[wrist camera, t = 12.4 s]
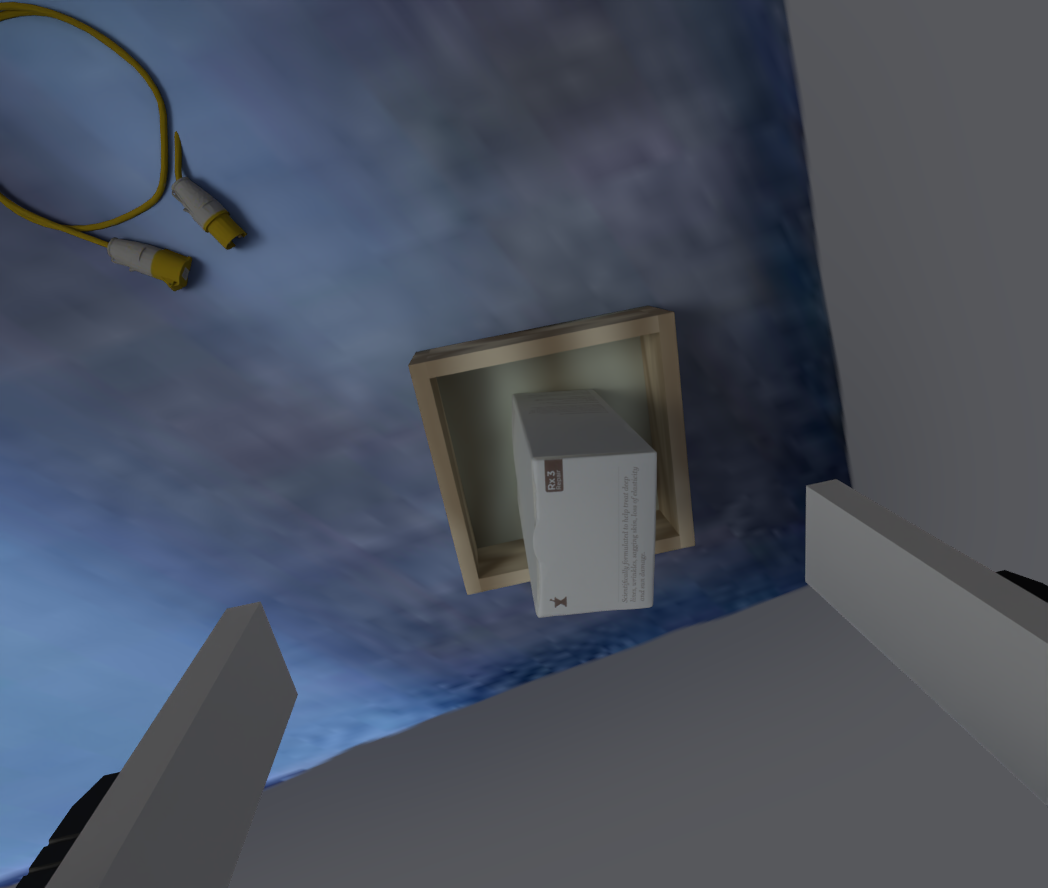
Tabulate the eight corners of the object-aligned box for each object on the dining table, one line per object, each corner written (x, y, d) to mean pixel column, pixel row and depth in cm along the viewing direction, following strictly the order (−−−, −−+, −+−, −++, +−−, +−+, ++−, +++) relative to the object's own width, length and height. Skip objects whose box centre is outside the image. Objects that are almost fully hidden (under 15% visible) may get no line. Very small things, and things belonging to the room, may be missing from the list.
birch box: (467, 557, 42) (467, 594, 37) (415, 352, 36) (408, 365, 32) (669, 513, 42) (695, 545, 38) (647, 305, 37) (674, 312, 32)
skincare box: (593, 492, 40) (661, 616, 26) (511, 499, 40) (536, 629, 26) (593, 381, 37) (668, 452, 23) (505, 386, 37) (529, 462, 23)
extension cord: (87, 329, 35) (65, 333, 33) (-93, 52, 29) (-131, 38, 27) (264, 258, 34) (252, 257, 32) (114, -34, 29) (90, -55, 27)
